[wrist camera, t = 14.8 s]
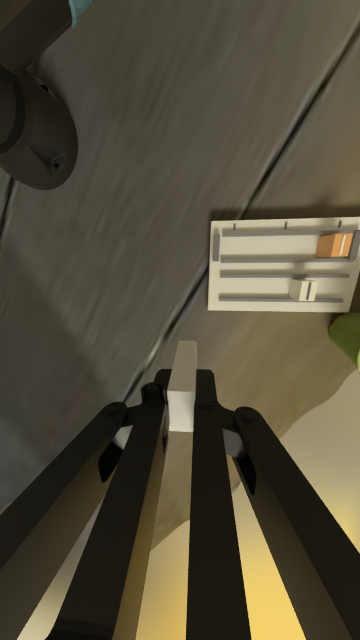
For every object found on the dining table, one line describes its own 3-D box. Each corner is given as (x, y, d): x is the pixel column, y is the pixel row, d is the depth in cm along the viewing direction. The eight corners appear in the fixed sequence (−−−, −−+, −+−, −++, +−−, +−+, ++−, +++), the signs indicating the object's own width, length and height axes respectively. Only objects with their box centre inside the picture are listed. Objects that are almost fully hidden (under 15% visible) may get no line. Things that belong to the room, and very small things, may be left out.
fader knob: (319, 237, 32) (336, 233, 28) (334, 236, 32) (354, 233, 28) (315, 256, 33) (331, 256, 29) (330, 256, 33) (348, 256, 29)
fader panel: (210, 223, 35) (213, 215, 29) (364, 219, 32) (401, 209, 26) (207, 307, 39) (209, 316, 34) (340, 309, 37) (367, 319, 31)
